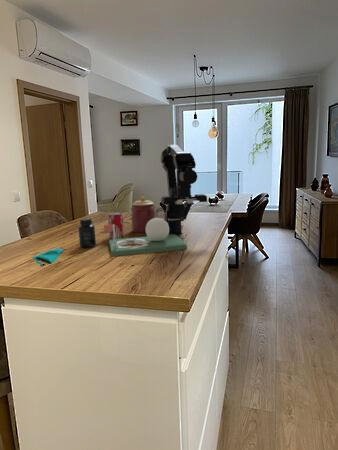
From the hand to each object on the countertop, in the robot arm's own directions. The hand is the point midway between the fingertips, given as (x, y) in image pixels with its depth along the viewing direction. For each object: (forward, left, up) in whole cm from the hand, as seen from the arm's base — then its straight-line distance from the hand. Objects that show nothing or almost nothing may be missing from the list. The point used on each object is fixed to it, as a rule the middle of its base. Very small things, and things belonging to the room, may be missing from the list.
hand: (184, 219), depth 143 cm
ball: (+12, 0, -4) cm, 13 cm away
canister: (+13, -33, -11) cm, 37 cm away
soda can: (+28, -20, -11) cm, 36 cm away
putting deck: (+17, 0, -11) cm, 20 cm away
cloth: (+56, +3, -12) cm, 57 cm away
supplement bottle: (+41, -9, -11) cm, 44 cm away
